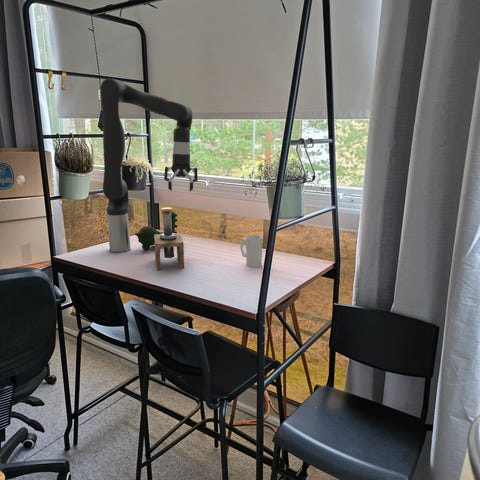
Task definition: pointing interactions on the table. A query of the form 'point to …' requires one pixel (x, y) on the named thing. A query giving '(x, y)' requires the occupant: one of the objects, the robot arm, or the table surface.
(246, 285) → the table surface
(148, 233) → the toy figurine
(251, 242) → the mug
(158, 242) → the wooden block with hole
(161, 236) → the pin
